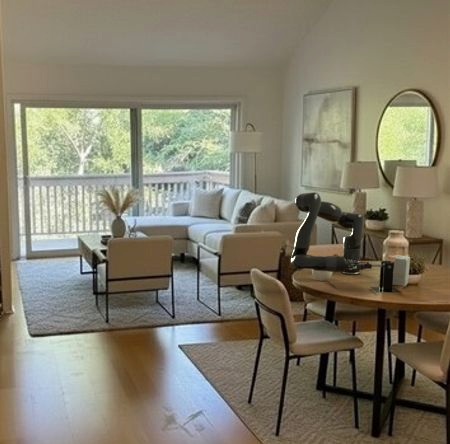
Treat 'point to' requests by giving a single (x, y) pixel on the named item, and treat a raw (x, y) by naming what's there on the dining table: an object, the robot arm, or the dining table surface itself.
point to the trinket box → (321, 275)
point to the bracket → (386, 278)
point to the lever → (375, 265)
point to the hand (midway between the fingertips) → (369, 265)
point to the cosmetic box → (401, 270)
